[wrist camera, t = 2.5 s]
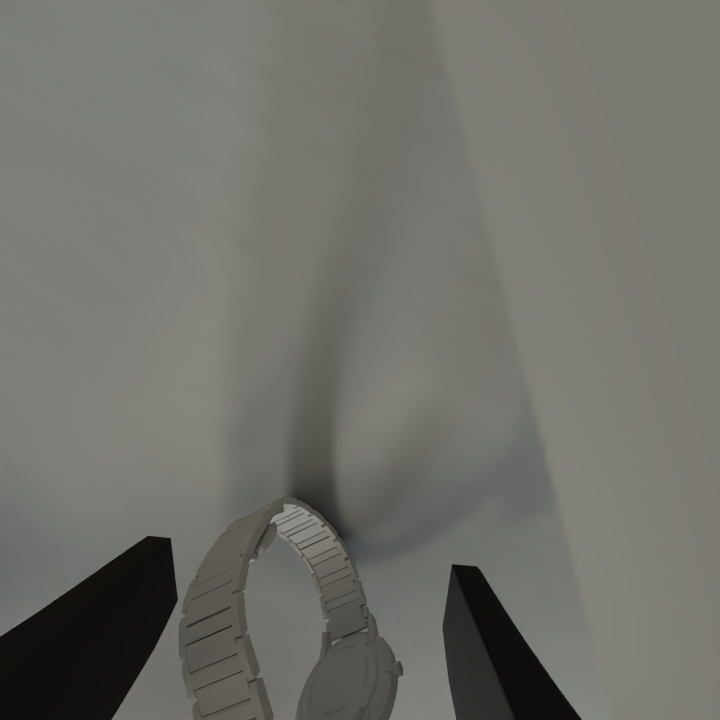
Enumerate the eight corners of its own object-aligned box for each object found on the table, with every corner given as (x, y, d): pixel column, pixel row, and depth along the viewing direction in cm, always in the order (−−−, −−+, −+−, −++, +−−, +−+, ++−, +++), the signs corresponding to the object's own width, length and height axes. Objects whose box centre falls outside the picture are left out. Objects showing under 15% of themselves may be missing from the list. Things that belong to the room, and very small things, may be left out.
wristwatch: (323, 611, 11) (276, 883, 6) (230, 493, 10) (89, 703, 5) (402, 578, 10) (419, 847, 6) (312, 449, 9) (240, 639, 5)
